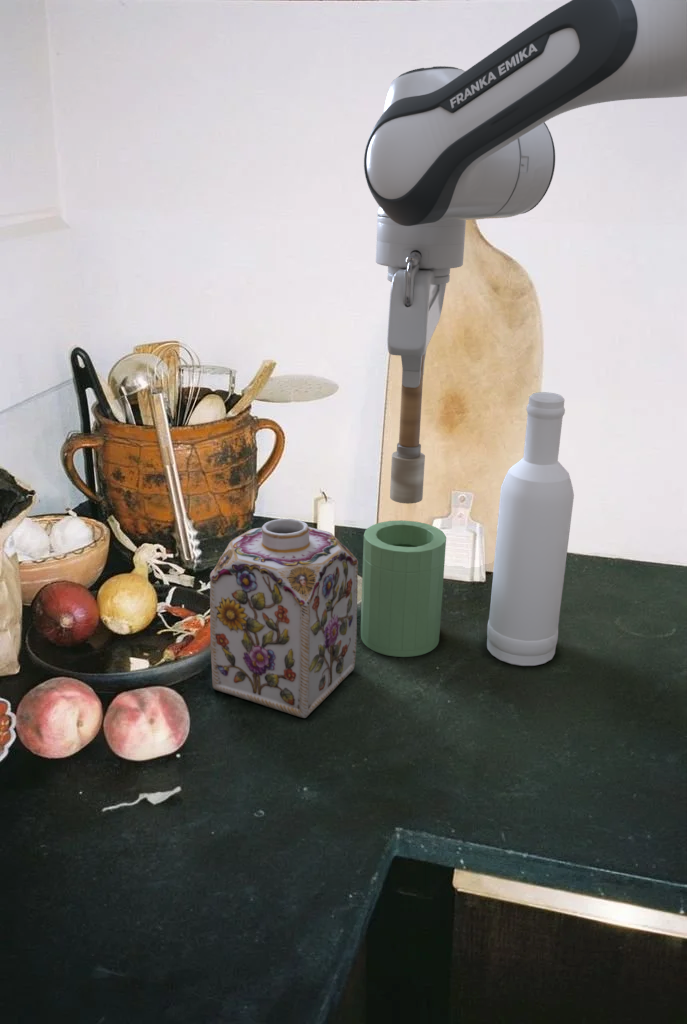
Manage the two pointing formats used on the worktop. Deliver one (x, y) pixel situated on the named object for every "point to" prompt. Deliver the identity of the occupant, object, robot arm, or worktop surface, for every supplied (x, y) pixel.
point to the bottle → (531, 542)
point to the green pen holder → (402, 587)
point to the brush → (408, 449)
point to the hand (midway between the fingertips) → (413, 382)
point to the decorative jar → (283, 616)
